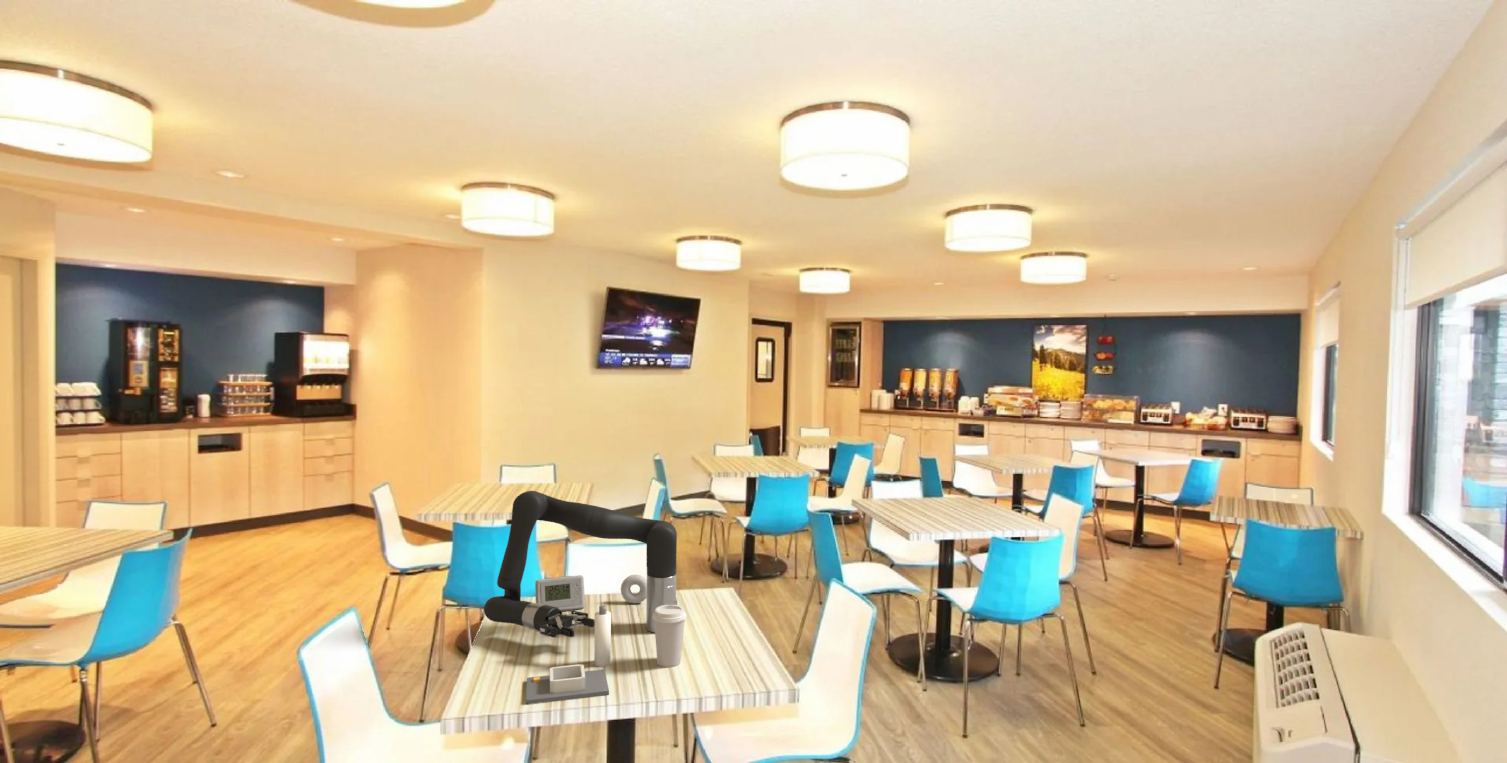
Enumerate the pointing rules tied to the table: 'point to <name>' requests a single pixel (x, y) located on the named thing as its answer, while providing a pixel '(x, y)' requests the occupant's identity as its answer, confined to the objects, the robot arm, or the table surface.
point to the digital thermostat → (561, 592)
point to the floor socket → (566, 684)
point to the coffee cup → (669, 634)
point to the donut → (627, 592)
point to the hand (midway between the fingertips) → (584, 628)
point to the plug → (602, 637)
